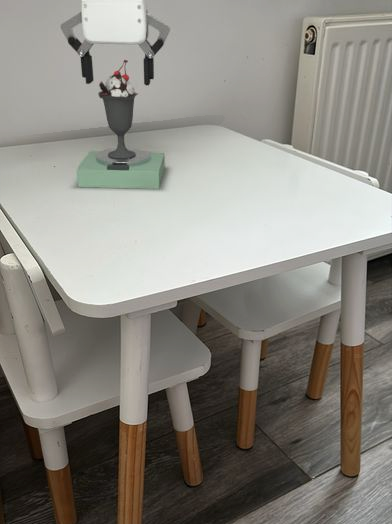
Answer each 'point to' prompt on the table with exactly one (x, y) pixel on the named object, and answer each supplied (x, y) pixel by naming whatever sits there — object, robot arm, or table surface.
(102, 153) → the scale pan
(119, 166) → the scale
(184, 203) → the table surface
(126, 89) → the sundae
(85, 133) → the table surface
